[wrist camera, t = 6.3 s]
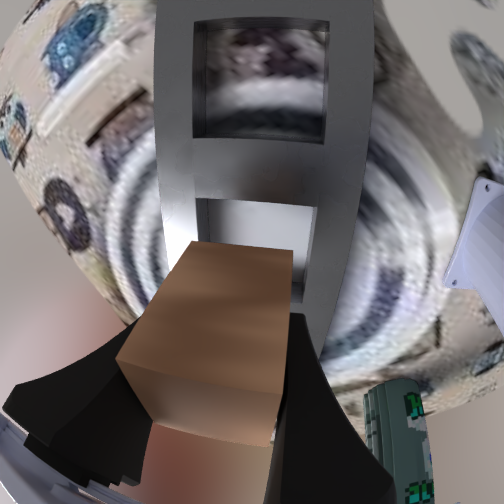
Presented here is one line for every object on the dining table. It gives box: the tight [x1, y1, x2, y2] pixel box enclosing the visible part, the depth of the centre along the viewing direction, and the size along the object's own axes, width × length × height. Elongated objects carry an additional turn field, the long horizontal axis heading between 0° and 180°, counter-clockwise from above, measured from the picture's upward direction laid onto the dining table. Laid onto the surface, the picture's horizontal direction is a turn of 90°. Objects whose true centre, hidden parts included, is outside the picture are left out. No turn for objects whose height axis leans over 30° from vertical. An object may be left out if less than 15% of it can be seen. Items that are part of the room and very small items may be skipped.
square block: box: [115, 241, 293, 447], centre depth 9 cm, size 4×4×6 cm
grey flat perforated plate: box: [154, 0, 374, 360], centre depth 15 cm, size 10×30×2 cm, turn 179°
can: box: [363, 378, 434, 504], centre depth 17 cm, size 6×6×15 cm
